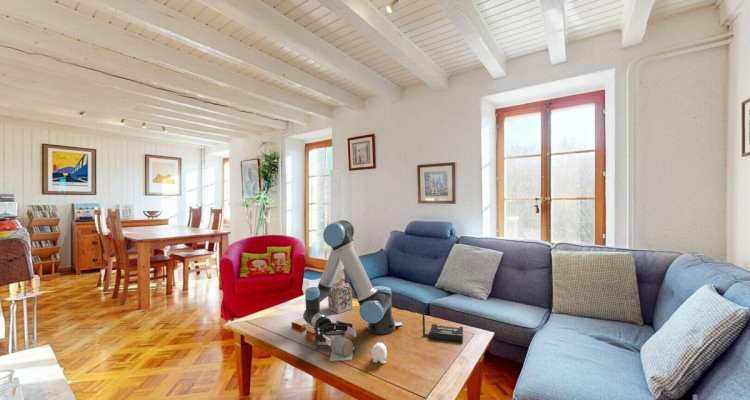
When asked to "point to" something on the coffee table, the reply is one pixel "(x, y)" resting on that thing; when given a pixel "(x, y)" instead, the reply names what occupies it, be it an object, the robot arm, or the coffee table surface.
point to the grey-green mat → (340, 356)
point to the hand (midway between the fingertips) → (343, 338)
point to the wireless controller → (444, 332)
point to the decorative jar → (340, 297)
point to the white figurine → (379, 353)
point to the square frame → (329, 334)
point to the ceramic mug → (342, 345)
